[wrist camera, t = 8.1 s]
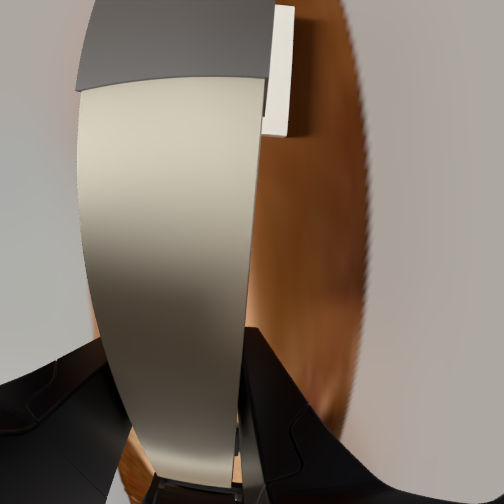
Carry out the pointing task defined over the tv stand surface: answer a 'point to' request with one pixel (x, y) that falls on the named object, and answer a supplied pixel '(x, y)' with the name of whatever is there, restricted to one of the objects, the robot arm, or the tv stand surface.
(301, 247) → the tv stand surface
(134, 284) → the curved white panel
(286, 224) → the tv stand surface
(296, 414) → the robot arm
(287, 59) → the tile
